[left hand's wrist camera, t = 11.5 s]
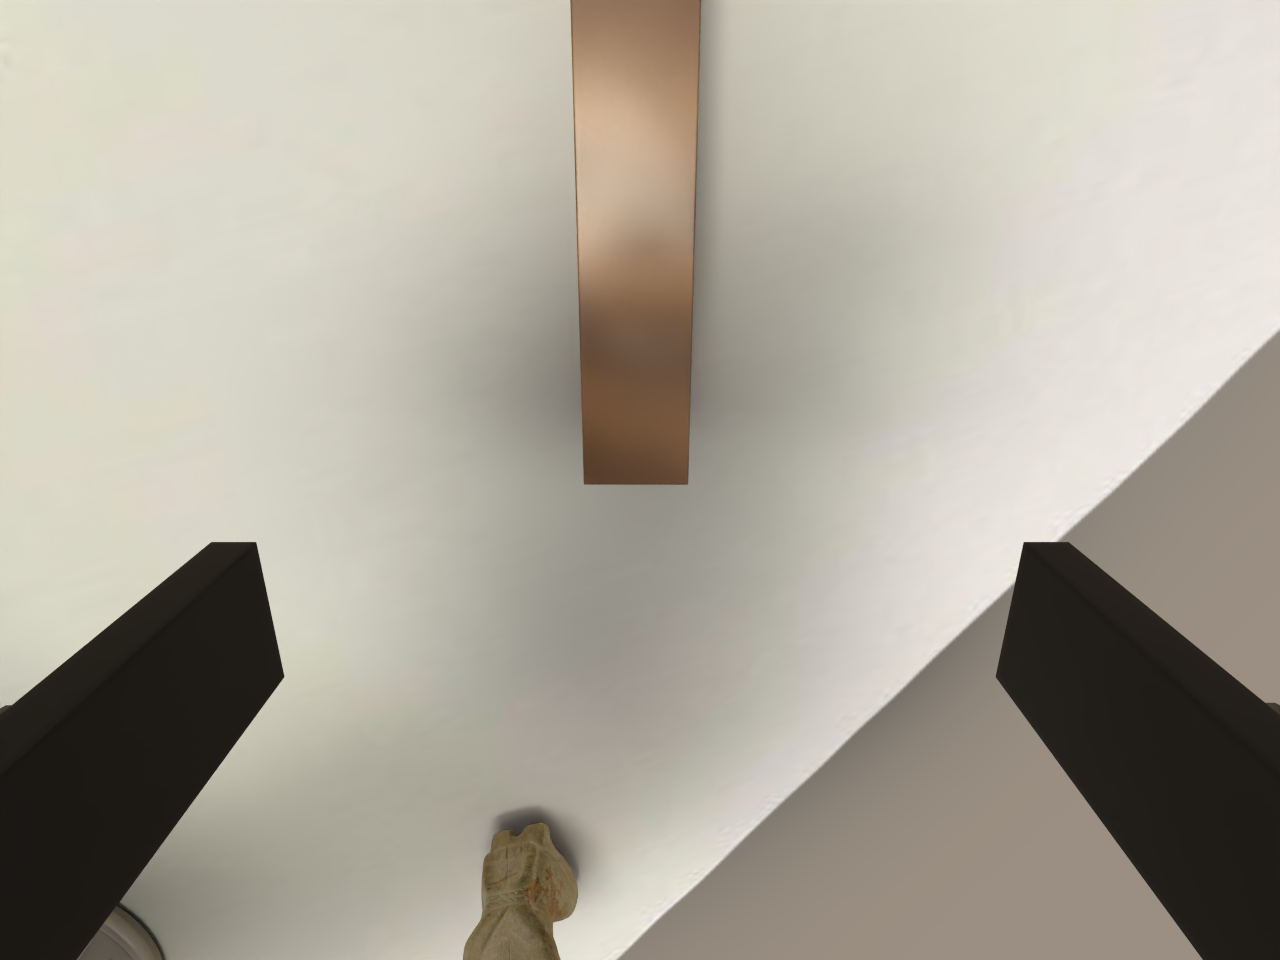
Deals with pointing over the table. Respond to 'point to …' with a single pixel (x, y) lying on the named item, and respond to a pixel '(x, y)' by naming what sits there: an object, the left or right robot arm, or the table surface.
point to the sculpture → (522, 897)
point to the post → (635, 232)
